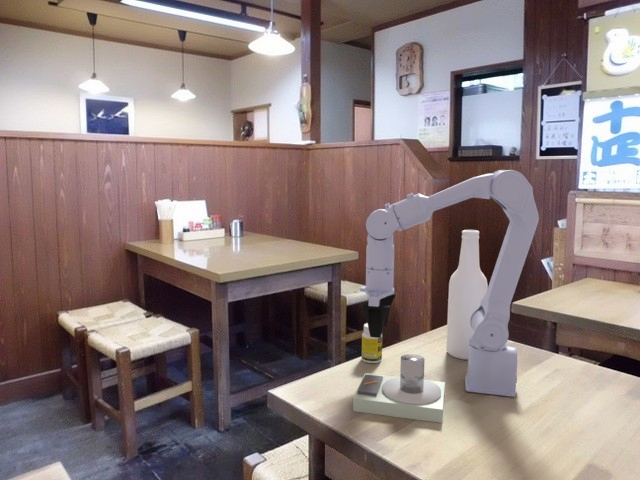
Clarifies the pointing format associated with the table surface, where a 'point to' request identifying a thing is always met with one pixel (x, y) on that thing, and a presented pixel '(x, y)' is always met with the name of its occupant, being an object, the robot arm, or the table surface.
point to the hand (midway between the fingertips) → (378, 331)
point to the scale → (399, 399)
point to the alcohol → (464, 296)
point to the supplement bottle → (371, 347)
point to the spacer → (412, 373)
